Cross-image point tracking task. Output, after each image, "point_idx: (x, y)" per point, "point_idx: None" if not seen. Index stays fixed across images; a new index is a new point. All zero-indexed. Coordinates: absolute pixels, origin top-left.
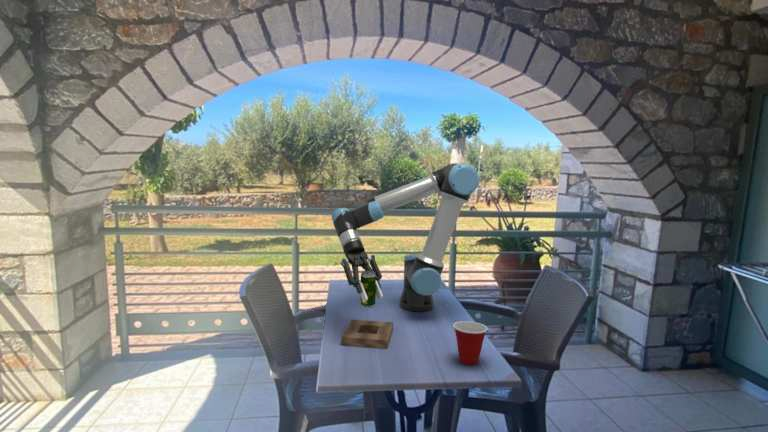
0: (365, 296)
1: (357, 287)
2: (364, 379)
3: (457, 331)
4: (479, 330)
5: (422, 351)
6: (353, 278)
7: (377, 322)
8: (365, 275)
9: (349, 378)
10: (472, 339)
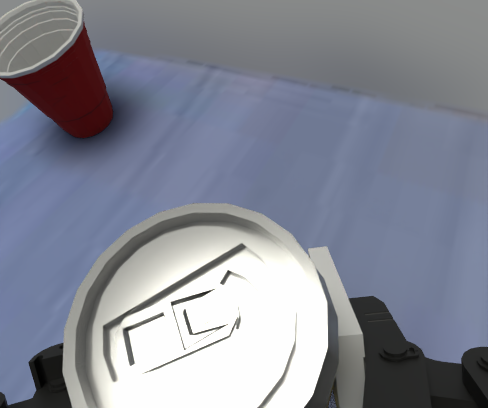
0: (327, 255)
1: (398, 328)
2: (408, 122)
3: (82, 33)
4: (1, 60)
5: (154, 204)
6: (483, 387)
7: None
8: (289, 244)
9: (454, 137)
10: (74, 24)
